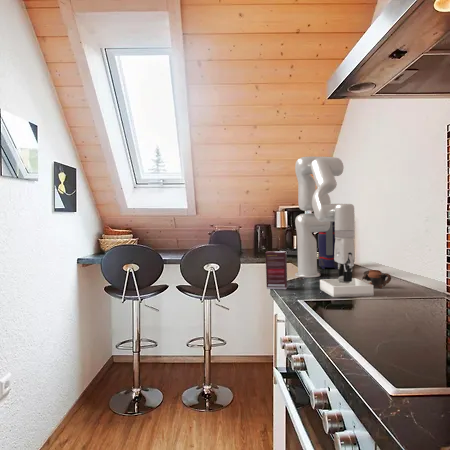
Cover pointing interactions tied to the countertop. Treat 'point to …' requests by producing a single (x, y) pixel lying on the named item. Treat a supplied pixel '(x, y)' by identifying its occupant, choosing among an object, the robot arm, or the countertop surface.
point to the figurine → (342, 279)
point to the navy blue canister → (327, 248)
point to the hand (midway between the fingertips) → (345, 279)
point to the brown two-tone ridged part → (376, 278)
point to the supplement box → (276, 270)
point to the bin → (346, 288)
